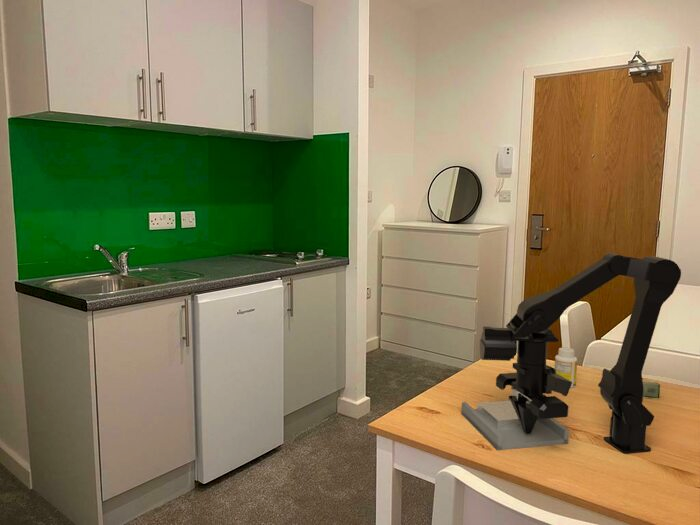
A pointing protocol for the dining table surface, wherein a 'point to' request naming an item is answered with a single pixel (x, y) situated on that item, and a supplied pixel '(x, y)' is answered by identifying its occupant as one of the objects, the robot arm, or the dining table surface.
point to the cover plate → (499, 414)
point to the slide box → (517, 432)
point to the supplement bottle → (566, 364)
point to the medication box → (651, 389)
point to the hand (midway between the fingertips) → (527, 433)
